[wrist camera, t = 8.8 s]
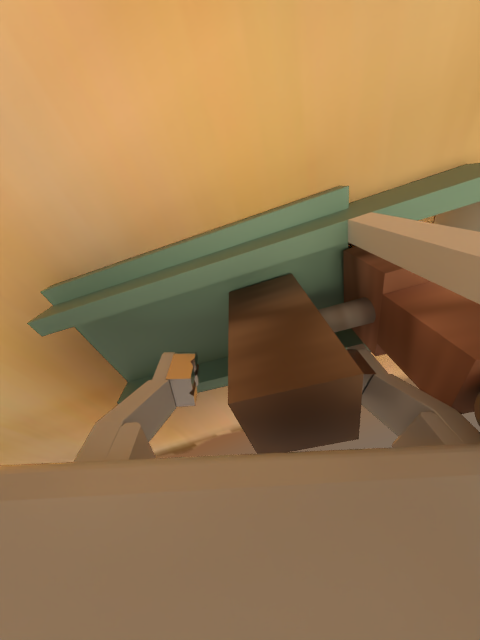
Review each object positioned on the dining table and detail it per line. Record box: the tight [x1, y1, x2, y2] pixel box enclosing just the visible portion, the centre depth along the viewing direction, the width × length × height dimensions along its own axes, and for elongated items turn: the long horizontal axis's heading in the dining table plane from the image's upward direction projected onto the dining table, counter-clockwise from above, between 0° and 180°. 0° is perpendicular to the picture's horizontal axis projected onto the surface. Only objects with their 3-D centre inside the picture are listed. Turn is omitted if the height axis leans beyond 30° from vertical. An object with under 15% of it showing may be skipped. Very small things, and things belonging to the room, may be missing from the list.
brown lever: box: [228, 246, 480, 454], centre depth 9 cm, size 9×5×10 cm, turn 107°
